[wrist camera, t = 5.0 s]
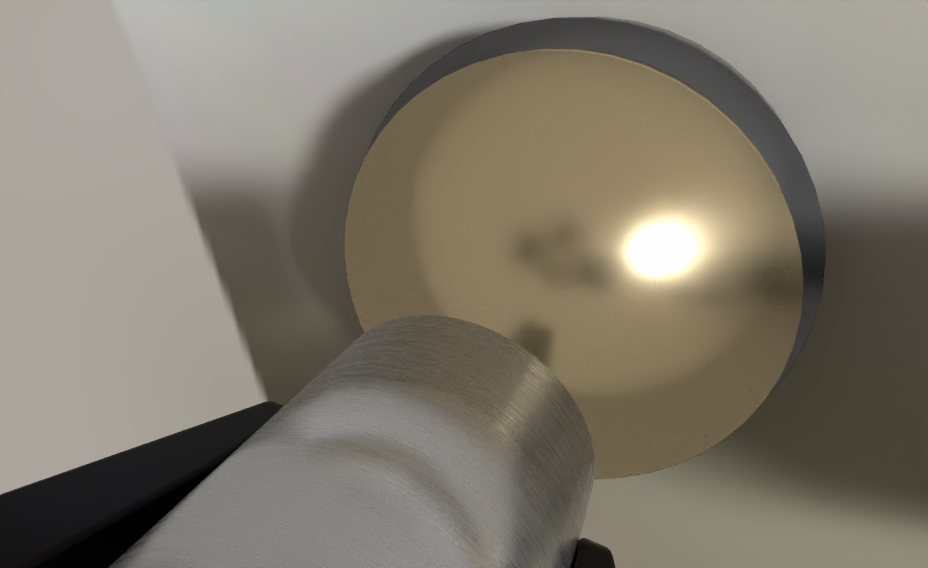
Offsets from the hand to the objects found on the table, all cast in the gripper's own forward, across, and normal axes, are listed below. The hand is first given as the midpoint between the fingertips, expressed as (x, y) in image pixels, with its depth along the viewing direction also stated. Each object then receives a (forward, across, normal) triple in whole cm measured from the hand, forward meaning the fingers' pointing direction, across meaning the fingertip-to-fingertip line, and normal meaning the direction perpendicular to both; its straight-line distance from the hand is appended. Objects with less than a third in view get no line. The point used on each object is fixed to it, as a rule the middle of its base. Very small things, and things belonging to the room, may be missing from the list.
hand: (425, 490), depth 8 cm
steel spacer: (+1, 0, 0) cm, 1 cm away
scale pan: (+8, 0, 0) cm, 8 cm away
